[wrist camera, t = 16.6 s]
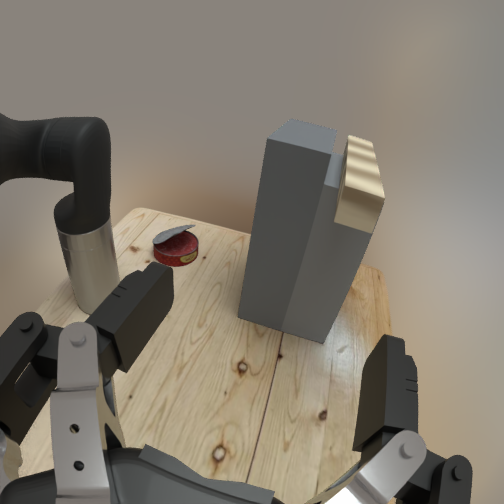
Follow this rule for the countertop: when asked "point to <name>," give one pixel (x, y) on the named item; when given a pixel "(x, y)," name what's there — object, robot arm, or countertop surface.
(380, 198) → the birch bar
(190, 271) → the countertop surface
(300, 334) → the block
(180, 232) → the canned food
